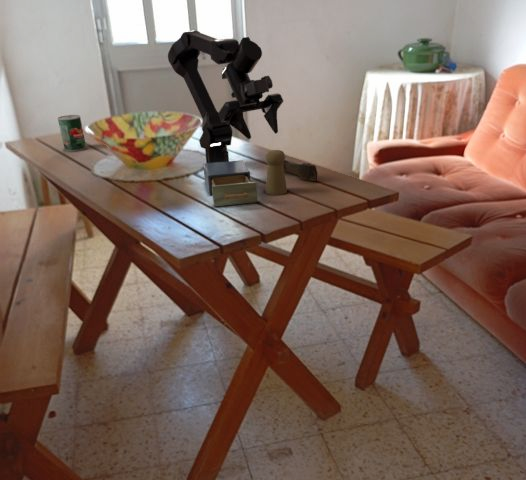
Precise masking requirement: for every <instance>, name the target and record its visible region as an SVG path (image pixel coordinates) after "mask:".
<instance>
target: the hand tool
mask: <svg viewBox="0 0 526 480" xmlns="http://www.w3.org/2000/svg"><path fill="white" fill-rule="evenodd" d="M283 167H284V173H286V174H289V175H293V176H297V177H299V178H300V179H301V180H302V181H306V182H307V181H308V182H317V181H318V176H319V175H318V170H317V166H316V165H314V164H312V163H310V162H308V163H306V162H303V163H301V164H300V163H296V162H292V161H289V160H286V159H285V160H284V162H283Z"/></svg>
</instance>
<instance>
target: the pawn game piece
mask: <svg viewBox="0 0 526 480" xmlns="http://www.w3.org/2000/svg"><path fill="white" fill-rule="evenodd" d="M284 160H286V154H285V152H284V151H283V150H281V149H271V150H269V151H267V152H266V154H265V161H266V163H267V169H266V170H267V171H266V181H265V194H267V195H270V196H281V195H284V194H286V193H287V192H288V188H287V181H286V174H285V173H286V172H284V167H283V162H284Z"/></svg>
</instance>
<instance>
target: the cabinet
mask: <svg viewBox="0 0 526 480" xmlns="http://www.w3.org/2000/svg"><path fill="white" fill-rule="evenodd" d="M202 166H203V167H202V168H203V177H204V183H205V184H204V185H205V187H206V189H207V192H208V195H209V196H211V197H212V196H213V193H212V188H211V177H221V176H232V175H242V174H246V176H247V178H248V179H249V181H250V182H251V170H249V168H248V167H247V165H246V163H245V162H244V160H243V159H240V160H229V161H228V162H217V163H206V162H205V163H203V164H202Z"/></svg>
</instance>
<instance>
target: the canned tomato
mask: <svg viewBox="0 0 526 480" xmlns="http://www.w3.org/2000/svg"><path fill="white" fill-rule="evenodd" d="M57 122H58V126H59V131H60V134H61V140H62V144H63V147H64V151H65V152H79V151H83V150H86V149H87V144H86V138H85V133H84V129H83V128H84V127H83V124H82V120H81V115H79V114H67V115H62V116H59V117H57Z"/></svg>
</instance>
